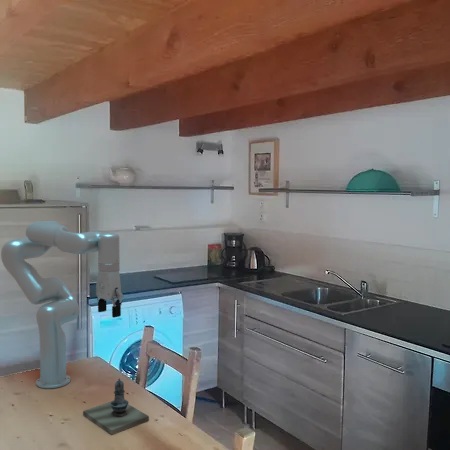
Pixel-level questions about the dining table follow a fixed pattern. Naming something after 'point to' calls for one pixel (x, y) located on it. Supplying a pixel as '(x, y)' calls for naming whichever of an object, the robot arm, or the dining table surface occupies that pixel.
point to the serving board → (115, 418)
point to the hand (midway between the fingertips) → (109, 314)
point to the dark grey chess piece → (119, 400)
